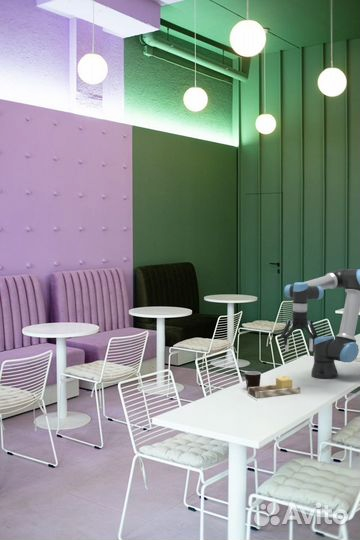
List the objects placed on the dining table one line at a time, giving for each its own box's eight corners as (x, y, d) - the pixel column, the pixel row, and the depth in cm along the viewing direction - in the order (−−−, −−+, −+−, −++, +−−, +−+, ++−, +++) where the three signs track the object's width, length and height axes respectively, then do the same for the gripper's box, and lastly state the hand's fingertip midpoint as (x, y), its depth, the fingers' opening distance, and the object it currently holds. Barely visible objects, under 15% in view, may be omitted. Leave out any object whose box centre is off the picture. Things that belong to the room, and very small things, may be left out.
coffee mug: (260, 393, 329) (260, 374, 328) (244, 393, 331) (244, 374, 330) (262, 388, 340) (261, 370, 340) (246, 387, 342) (246, 369, 342)
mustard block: (286, 389, 330) (286, 376, 330) (292, 392, 324) (292, 379, 323) (276, 390, 329) (275, 377, 328) (282, 394, 322) (281, 380, 321)
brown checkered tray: (290, 390, 334) (289, 382, 334) (300, 395, 322) (300, 387, 322) (247, 395, 326) (247, 387, 326) (257, 400, 315) (256, 392, 315)
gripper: (280, 311, 323) (279, 352, 324) (324, 312, 328) (323, 352, 328) (275, 310, 331) (274, 350, 331) (319, 310, 335) (317, 349, 336)
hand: (298, 351), depth 330 cm, fingers open, 13 cm apart
